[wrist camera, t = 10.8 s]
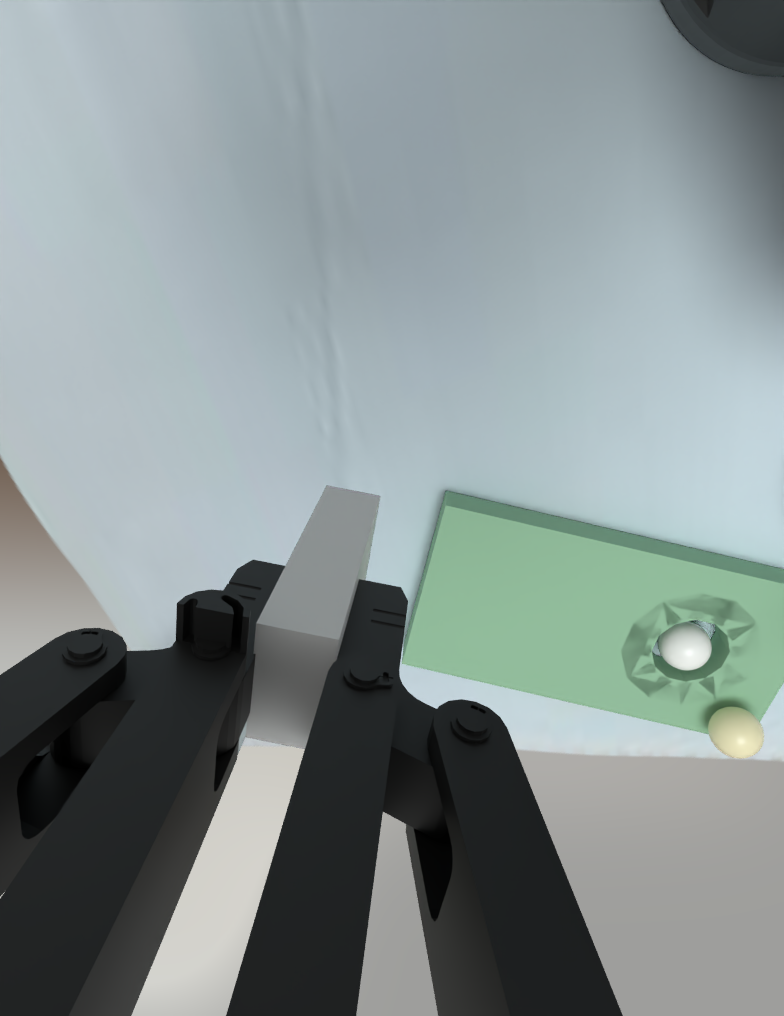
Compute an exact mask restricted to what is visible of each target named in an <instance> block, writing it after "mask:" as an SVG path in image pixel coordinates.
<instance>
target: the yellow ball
mask: <svg viewBox="0 0 784 1016" xmlns="http://www.w3.org/2000/svg"><path fill="white" fill-rule="evenodd" d="M708 732H709V736H710V739H711V741H712V743H713V744H714V745H715V747H716V748H717V749H718V750H719V751H721V752H722V753H724V754H725V755H727V756H730V757H733V758H739V759H742V758H748V757H751V756H753V755H755V754H756V753H757V752H758V751H759V750H760V749H761V747H762V745H763V742H764V732H763V728H762V726H761V724H760V722H759V721H758V719H757V718H756V717H755V716H754V715H753V714H751V713H750V712H749V711H747V710H745V709H742V708H739V707H724V708H721V709H719V710H718V711H716V712H715V713H714V714H713V715H712V717H711V719H710V721H709V725H708Z"/></svg>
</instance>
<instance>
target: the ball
mask: <svg viewBox="0 0 784 1016" xmlns="http://www.w3.org/2000/svg"><path fill="white" fill-rule="evenodd" d="M658 647H659V651H660V654H661V655H662V657H663V658H664V660H665V661H666V662H667V663H668V664H670V665H671V666H673V667H675V668H677V669H680V670H694V669H697V668H700V667H701V666H703V665H704V664H705V663H706V662H707V661H708V659H709V658H710V655H711V651H712V645H711V640H710V638H709V636H708V634H707V633H706V632H705V631H704V630H703V629H702V628H701V627H700V626H698V625H697V624H695V623H692V622H689V621H688V622H683V623H678V624H675V625H673V626H672V627H670V628H669V629H668V630H666V631H665V632H663V633H662V634H661V635H660V636H659V640H658Z"/></svg>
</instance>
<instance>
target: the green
mask: <svg viewBox="0 0 784 1016" xmlns="http://www.w3.org/2000/svg"><path fill="white" fill-rule="evenodd" d="M692 620H699V621H704V622H708V623H712V624H715V630H716V631H715V633H714V635H713V637H712V638H711V645H712V651H711V655H710V658H709V659H708V661H707V662H706V663H705V664H704V665H703V666H701V667H700V668H697V669H694V670H680V669H677V668H675V667H673V666H671V665H670V664H668V663H667V662H666V661H665V660H664V658H663V657H661V656H656V655H655V654H654V653H653V652H652V649H653V647H654V645H655V643H656V641H657V639H658V637H659V635H661V634H662V633H663V632H665V631H666V630H668V629H669V628H670V627H672V626H673V625H675V624H678V623H683V622H688V621H692ZM402 664H405V665H409V666H414V667H418V668H423V669H427V670H431V671H436V672H440V673H444V674H449V675H453V676H457V677H462V678H466V679H470V680H475V681H479V682H483V683H488V684H492V685H497V686H501V687H505V688H510V689H514V690H518V691H523V692H527V693H531V694H536V695H540V696H544V697H549V698H553V699H558V700H562V701H566V702H571V703H575V704H579V705H584V706H588V707H592V708H597V709H601V710H605V711H610V712H614V713H618V714H623V715H627V716H632V717H636V718H640V719H645V720H649V721H653V722H658V723H662V724H666V725H671V726H675V727H679V728H684V729H688V730H693V731H697V732H701V733H706V734H709V732H708V725H709V721H710V719H711V717H712V715H713V714H714V713H715V712H716V711H718V710H719V709H721V708H724V707H739V708H742V709H745V710H747V711H749V712H750V713H751V714H753V715H754V716H755V717H756V718H757V719H758V721H759V722H760V721H761V719H762V717H763V716H764V714H765V712H766V711H767V709H768V707H769V706H770V704H771V702H772V701H773V699H774V698H775V696H776V694H777V693H778V691H779V689H780V688H781V686H782V684H783V683H784V569H780V568H776V567H771V566H767V565H763V564H759V563H754V562H750V561H746V560H741V559H737V558H733V557H728V556H724V555H720V554H716V553H711V552H707V551H703V550H698V549H694V548H690V547H686V546H681V545H677V544H673V543H668V542H664V541H660V540H655V539H651V538H647V537H643V536H638V535H634V534H630V533H625V532H621V531H617V530H613V529H608V528H604V527H600V526H595V525H591V524H587V523H582V522H578V521H574V520H570V519H565V518H561V517H557V516H552V515H548V514H544V513H540V512H535V511H531V510H527V509H522V508H518V507H514V506H509V505H505V504H501V503H497V502H492V501H488V500H484V499H479V498H475V497H471V496H467V495H462V494H458V493H454V492H449V491H446V492H445V496H444V500H443V503H442V507H441V511H440V514H439V518H438V521H437V525H436V529H435V532H434V536H433V540H432V543H431V547H430V551H429V554H428V558H427V562H426V565H425V569H424V573H423V576H422V580H421V584H420V587H419V591H418V595H417V598H416V602H415V605H414V609H413V613H412V616H411V620H410V624H409V627H408V631H407V635H406V638H405V642H404V649H403V658H402Z"/></svg>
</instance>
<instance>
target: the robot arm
mask: <svg viewBox="0 0 784 1016" xmlns="http://www.w3.org/2000/svg"><path fill="white" fill-rule="evenodd" d="M662 2H663V4H664V6H665V8H666V10H667V12H668V14H669V16H670V17H671V19H672V21H673V22H674V24H675V25H676V26H677V28H678V29H679V30H680V32H681V33H682V34H683V35H684V36H685V38H686V39H687V40H688V41H689V42H690V43H691V44H692V45H693V46H694V47H695V48H697V49H698V50H699V51H700V52H702V53H703V54H704V55H706V56H707V57H709V58H710V59H712V60H714V61H715V62H717V63H719V64H721V65H723V66H726V67H728V68H731V69H733V70H736V71H740V72H743V73H748V74H753V75H761V76H784V0H662ZM379 501H380V496H378V495H373V494H368V493H363V492H358V491H353V490H348V489H343V488H338V487H332V486H326V488H325V490H324V492H323V494H322V496H321V497H320V499H319V501H318V503H317V505H316V507H315V509H314V511H313V513H312V515H311V517H310V519H309V521H308V523H307V525H306V527H305V529H304V531H303V533H302V535H301V537H300V539H299V541H298V543H297V544H296V546H295V548H294V550H293V552H292V554H291V556H290V558H289V560H288V562H287V564H286V566H282V565H277V564H272V563H267V562H262V561H257V560H252V561H250V562H248V563H247V564H245V565H243V566H242V567H240V568H238V569H237V570H236V572H235V573H234V575H233V577H232V578H231V580H230V581H229V584H227V586H226V587H225V589H224V590H223V591H221V590H205V591H198V592H195V593H192V594H190V595H187V596H185V597H184V598H183V599H181V600H180V601H179V602H178V603H177V621H176V641H175V643H174V644H173V646H172V647H170V648H166V649H161V650H150V651H127V645H126V643H125V642H124V640H123V638H122V637H121V636H119V635H118V634H116V633H114V632H113V631H109V630H105V629H101V628H84V629H79V630H75V631H71V632H67V633H65V634H63V635H61V636H59V637H57V638H55V639H54V640H52V641H51V642H49V643H47V644H46V645H44V646H43V647H42V648H40V649H39V650H37V651H35V652H34V653H32V654H31V655H29V656H28V657H27V658H25V659H23V660H22V661H20V662H19V663H18V664H16V665H15V666H13V667H12V668H10V669H8V670H7V671H6V672H4V673H3V674H1V675H0V896H1V895H2V894H3V893H4V892H5V893H4V894H3V896H2V897H1V899H0V1016H131V1015H132V1012H133V1010H134V1008H135V1005H136V1003H137V1000H138V998H139V995H140V993H141V990H142V988H143V986H144V983H145V981H146V978H147V976H148V973H149V971H150V969H151V966H152V964H153V961H154V959H155V956H156V954H157V951H158V949H159V947H160V944H161V942H162V940H163V937H164V935H165V932H166V930H167V927H168V925H169V923H170V920H171V918H172V915H173V913H174V910H175V908H176V906H177V903H178V901H179V898H180V896H181V893H182V891H183V889H184V886H185V884H186V881H187V879H188V876H189V874H190V871H191V869H192V867H193V864H194V862H195V859H196V857H197V855H198V852H199V850H200V847H201V845H202V842H203V840H204V838H205V835H206V833H207V830H208V828H209V826H210V823H211V821H212V818H213V816H214V813H215V811H216V808H217V806H218V804H219V801H220V799H221V796H222V794H223V792H224V789H225V786H226V784H227V782H228V779H229V777H230V774H231V772H232V770H233V767H234V765H235V762H236V760H237V755H238V749H239V737H240V735H241V733H242V730H243V728H244V726H245V723H246V721H247V726H246V736H245V737H247V738H252V739H257V740H262V741H267V742H272V743H277V744H282V745H287V746H292V747H297V748H302V749H305V751H304V755H303V758H302V761H301V765H300V768H299V772H298V775H297V778H296V782H295V785H294V789H293V792H292V795H291V799H290V803H289V806H288V809H287V812H286V816H285V819H284V822H283V825H282V829H281V832H280V836H279V839H278V842H277V846H276V849H275V853H274V856H273V859H272V863H271V866H270V869H269V873H268V876H267V880H266V883H265V886H264V890H263V893H262V897H261V900H260V903H259V907H258V910H257V913H256V917H255V920H254V924H253V927H252V930H251V934H250V937H249V940H248V944H247V947H246V951H245V954H244V957H243V961H242V964H241V967H240V971H239V974H238V978H237V981H236V984H235V988H234V991H233V994H232V998H231V1001H230V1005H229V1008H228V1012H227V1015H226V1016H356V1011H357V1004H358V997H359V989H360V981H361V974H362V966H363V958H364V950H365V943H366V935H367V928H368V920H369V912H370V905H371V896H372V889H373V882H374V874H375V866H376V859H377V851H378V843H379V836H380V828H381V820H382V813H383V812H385V813H387V814H389V815H391V816H392V817H394V818H396V819H398V820H400V821H402V822H404V823H405V824H406V834H407V840H408V845H409V851H410V857H411V863H412V869H413V874H414V880H415V885H416V891H417V897H418V903H419V908H420V914H421V920H422V925H423V931H424V937H425V942H426V948H427V954H428V959H429V965H430V971H431V977H432V982H433V988H434V994H435V999H436V1005H437V1011H438V1016H623V1015H622V1013H621V1010H620V1008H619V1005H618V1003H617V1000H616V998H615V995H614V993H613V990H612V988H611V986H610V983H609V981H608V978H607V976H606V973H605V971H604V968H603V966H602V963H601V961H600V958H599V956H598V953H597V951H596V948H595V946H594V943H593V941H592V938H591V936H590V934H589V931H588V928H587V926H586V923H585V921H584V918H583V916H582V913H581V911H580V909H579V906H578V904H577V901H576V899H575V896H574V894H573V891H572V889H571V886H570V884H569V881H568V879H567V876H566V874H565V871H564V869H563V866H562V864H561V861H560V859H559V856H558V854H557V851H556V849H555V846H554V844H553V841H552V839H551V837H550V834H549V831H548V829H547V826H546V824H545V821H544V819H543V816H542V814H541V812H540V809H539V806H538V804H537V802H536V799H535V796H534V794H533V792H532V789H531V787H530V784H529V782H528V779H527V777H526V774H525V772H524V769H523V767H522V764H521V762H520V759H519V757H518V754H517V752H516V749H515V747H514V744H513V742H512V739H511V737H510V734H509V732H508V729H507V727H506V726H505V724H504V723H503V721H502V719H501V718H500V717H499V716H498V715H497V714H496V713H494V712H493V711H492V710H491V709H490V708H488V707H486V706H484V705H481V704H479V703H477V702H473V701H468V700H462V699H461V700H453V701H448V702H446V703H444V704H443V705H441V706H439V707H438V709H435V708H433V707H431V706H429V705H427V704H425V703H423V702H421V701H420V700H418V699H416V698H415V697H414V696H412V695H411V694H410V693H409V692H408V691H407V690H406V688H405V687H404V686H403V684H402V682H401V680H400V677H399V667H400V659H401V651H402V644H403V636H404V628H405V621H406V613H407V605H408V600H407V598H406V596H405V594H404V593H403V591H402V589H401V587H396V586H391V585H386V584H381V583H376V582H371V581H366V580H365V579H366V574H367V568H368V562H369V557H370V551H371V546H372V540H373V534H374V529H375V523H376V518H377V512H378V506H379Z"/></svg>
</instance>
